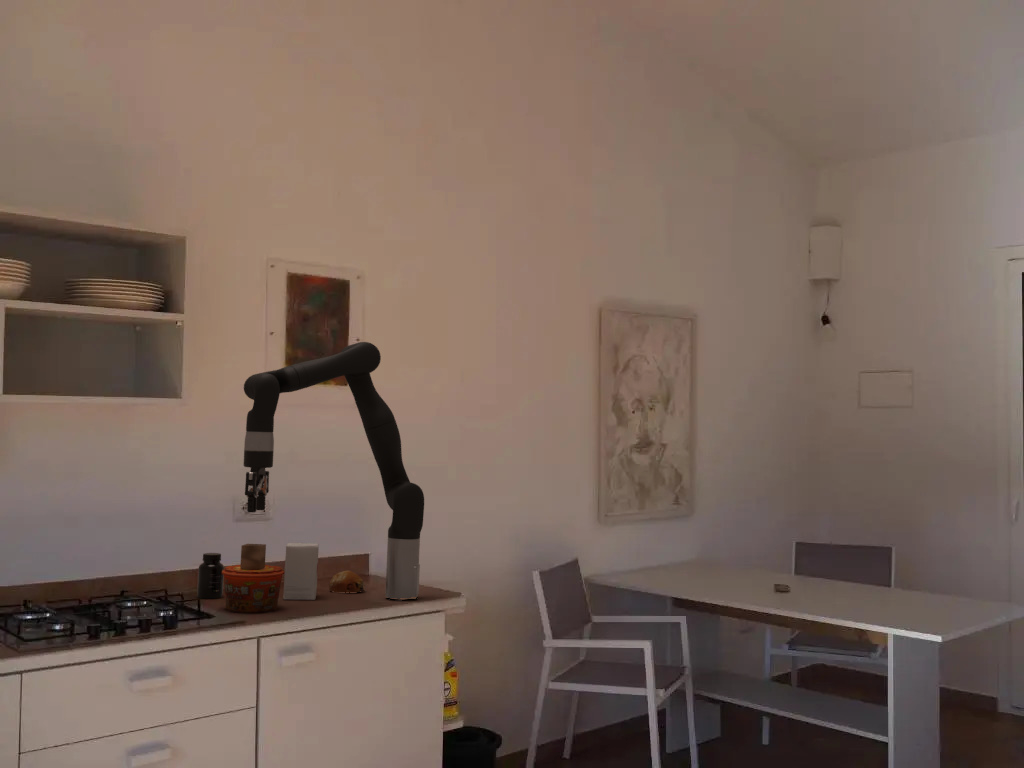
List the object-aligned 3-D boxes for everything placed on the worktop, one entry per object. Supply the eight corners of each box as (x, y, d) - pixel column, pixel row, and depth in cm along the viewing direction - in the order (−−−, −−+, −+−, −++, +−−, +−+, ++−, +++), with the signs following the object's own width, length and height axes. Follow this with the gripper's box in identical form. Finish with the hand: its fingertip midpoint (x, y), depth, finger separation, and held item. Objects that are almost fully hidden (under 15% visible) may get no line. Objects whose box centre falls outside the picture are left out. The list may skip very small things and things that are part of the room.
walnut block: (264, 567, 261) (266, 544, 262) (259, 569, 256) (260, 546, 257) (246, 566, 261) (247, 543, 262) (240, 568, 256) (241, 545, 257)
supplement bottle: (192, 596, 274) (194, 553, 275) (214, 594, 279) (216, 551, 280) (205, 600, 270) (207, 555, 270) (227, 597, 275) (229, 554, 275)
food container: (241, 616, 247) (243, 573, 248) (207, 608, 258) (209, 566, 259) (295, 610, 259) (297, 569, 260) (260, 602, 270) (262, 562, 270)
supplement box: (315, 600, 275) (318, 546, 276) (282, 600, 274) (285, 545, 275) (316, 595, 284) (319, 542, 285) (285, 595, 283) (287, 542, 284)
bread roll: (351, 601, 300) (344, 575, 302) (373, 589, 294) (366, 564, 297) (326, 604, 292) (319, 578, 294) (350, 593, 286) (342, 566, 289)
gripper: (266, 449, 254) (263, 513, 253) (279, 449, 268) (277, 509, 267) (237, 449, 254) (234, 512, 253) (252, 448, 268) (249, 509, 267)
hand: (256, 511), depth 260 cm, fingers open, 8 cm apart
